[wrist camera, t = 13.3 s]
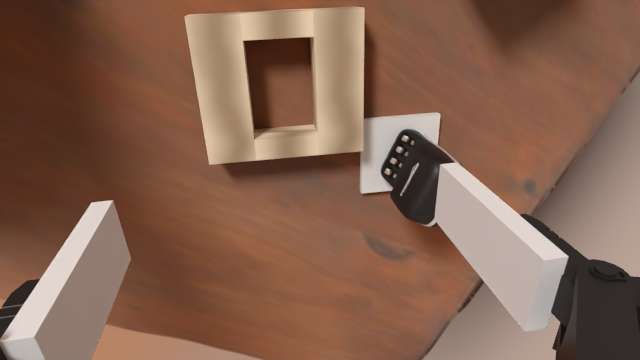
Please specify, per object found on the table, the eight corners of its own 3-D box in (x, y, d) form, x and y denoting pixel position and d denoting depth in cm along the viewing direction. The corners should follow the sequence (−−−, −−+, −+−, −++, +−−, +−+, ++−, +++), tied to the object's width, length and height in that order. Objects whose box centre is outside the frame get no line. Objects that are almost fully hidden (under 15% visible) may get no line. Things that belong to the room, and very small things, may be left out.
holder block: (212, 152, 44) (209, 164, 41) (190, 14, 38) (184, 16, 35) (355, 140, 46) (363, 151, 43) (355, 6, 40) (364, 7, 37)
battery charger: (397, 120, 45) (439, 158, 35) (426, 132, 46) (474, 172, 36) (370, 174, 47) (401, 225, 37) (397, 184, 48) (435, 236, 38)
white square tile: (359, 190, 49) (361, 193, 48) (360, 118, 45) (361, 120, 44) (431, 183, 50) (433, 186, 49) (437, 112, 46) (440, 114, 45)
